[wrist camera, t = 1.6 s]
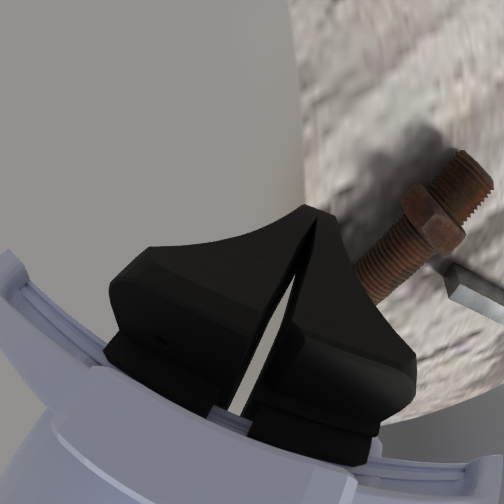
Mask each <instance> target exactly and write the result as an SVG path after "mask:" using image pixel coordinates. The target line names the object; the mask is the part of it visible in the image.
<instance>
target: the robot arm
mask: <svg viewBox="0 0 504 504" xmlns="http://www.w3.org/2000/svg"><path fill="white" fill-rule="evenodd" d="M295 273H296V274H295ZM294 275H295V278H294V282H293V285H292V289H291V292H290V296H289V299H288V303H287V306H286V310H285V313H284V317H283V320H282V323H281V326H280V328H279V331H278V333H277V336H276V338H275V340H274V343H273V345H272V347H271V350H270V352H269V354H268V357H267V359H266V361H265V363H264V366H263V368H262V370H261V372H260V374H259V377H258V379H257V381H256V383H255V385H254V388H253V390H252V392H251V394H250V396H249V398H248V400H247V402H246V404H245V406H244V408H243V411H242V413H241V415H240V416H238V415H235V414H233V413H231V412H228V411H227V410H228V408H229V406H230V404H231V402H232V400H233V398H234V396H235V394H236V392H237V390H238V387H239V386H240V383H241V381H242V379H243V377H244V375H245V373H246V371H247V368H248V366H249V364H250V362H251V360H252V358H253V356H254V353H255V351H256V349H257V347H258V345H259V343H260V340H261V338H262V336H263V334H264V332H265V329H266V327H267V325H268V323H269V321H270V319H271V317H272V315H273V313H274V311H275V310H276V308H277V306H278V304H279V303H280V301H281V298H282V297H283V295H284V294H285V292H286V289H287V288H288V286H289V284H290V283H291V281H292V279H293V277H294ZM109 297H110V303H111V306H112V309H113V312H114V315H115V318H116V321H117V324H118V327H119V331H118V333H117V334H116V335H115V336H114V337H113V338H112V340H111V341H110V342H109V343H108V344H107V343H106V342H104V341H103V340H102V339H100V338H99V337H97V336H96V335H95V334H93V333H92V332H91V331H89V330H88V329H87V328H85V327H84V326H83V325H82V324H80V323H79V322H78V321H76V320H75V319H74V318H73V317H71V316H70V315H69V314H68V313H67V312H65V311H64V310H63V309H62V308H60V307H59V306H58V305H57V304H56V303H55V302H54V301H52V300H51V299H50V298H49V297H48V296H47V295H46V294H44V293H43V292H42V291H41V290H40V289H39V288H38V287H37V286H36V285H35V284H34V283H33V282H32V281H31V280H30V279H29V275H28V273H27V271H26V269H25V267H24V265H23V263H22V262H21V261H20V259H19V258H18V257H16V255H15V254H13V252H11V250H9V249H7V250H6V251H5V252H4V253H2V254H1V255H0V348H1V350H2V351H3V353H4V354H5V356H6V357H7V359H8V360H9V361H10V362H11V364H12V366H13V367H14V368H15V370H16V371H17V372H18V374H19V375H20V376H21V378H22V379H23V380H24V381H25V383H26V384H27V385H28V386H29V387H30V389H31V390H32V391H33V392H34V393H35V395H36V396H37V397H38V398H39V399H40V400H41V402H43V404H44V405H45V406H46V407H47V409H46V410H45V412H44V413H43V414H42V416H41V417H40V418H39V420H38V421H37V422H36V424H35V425H34V427H33V428H32V430H31V431H30V432H29V434H28V435H27V437H26V438H25V439H24V441H23V442H22V444H21V445H20V447H19V448H18V450H17V451H16V453H15V454H14V456H13V457H12V459H11V460H10V462H9V463H8V465H7V466H6V468H5V470H4V471H3V473H2V474H1V476H0V504H498V499H499V493H500V485H501V476H502V464H503V456H502V455H488V456H483V457H479V458H477V459H474V460H472V461H470V462H468V463H467V464H448V463H426V462H414V461H405V460H397V459H389V458H383V457H381V454H382V443H381V442H380V441H379V439H378V438H377V437H376V436H377V435H378V434H379V429H380V423H381V422H382V421H384V420H386V419H387V418H389V417H391V416H393V415H394V414H396V413H398V412H399V411H401V410H402V409H403V408H405V407H406V406H407V405H408V404H410V403H411V402H412V400H413V398H414V397H415V395H416V381H417V362H416V354H415V353H414V351H413V350H412V349H411V348H410V347H409V346H408V345H407V344H406V343H405V341H404V340H403V339H402V338H401V337H400V336H399V335H398V334H397V333H396V332H395V330H394V329H393V328H392V327H391V325H390V324H389V323H388V322H387V320H386V319H385V318H384V317H383V315H382V314H381V313H380V311H379V310H378V309H377V307H376V306H375V304H374V303H373V301H372V300H371V298H370V297H369V295H368V294H367V292H366V290H365V289H364V287H363V286H362V284H361V282H360V280H359V278H358V276H357V274H356V273H355V271H354V269H353V267H352V265H351V262H350V260H349V257H348V255H347V252H346V250H345V247H344V244H343V241H342V238H341V234H340V231H339V227H338V223H337V219H336V217H335V216H334V215H331V214H329V213H326V212H324V211H321V210H319V209H316V208H313V207H311V206H308V205H305V204H304V205H301V206H300V207H298V208H297V209H296V210H294V211H293V212H291V213H289V214H288V215H286V216H284V217H282V218H281V219H279V220H277V221H275V222H274V223H271V224H269V225H267V226H265V227H263V228H260V229H258V230H255V231H253V232H250V233H247V234H244V235H241V236H237V237H232V238H228V239H224V240H220V241H215V242H209V243H202V244H193V245H183V246H160V247H148V248H147V249H145V251H143V252H142V253H141V254H139V255H138V256H137V257H136V258H135V259H134V260H133V261H132V262H131V263H130V264H129V265H128V266H127V267H126V268H124V270H122V271H121V272H120V273H119V274H118V275H117V276H116V277H115V278H114V279H113V280H112V281H111V282H110V286H109Z"/></svg>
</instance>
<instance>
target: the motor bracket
mask: <svg viewBox="0 0 504 504" xmlns="http://www.w3.org/2000/svg"><path fill="white" fill-rule="evenodd" d="M443 278H444V282H445V286H446V290H447V294H448V298H449V299H450V300H452V301H455V302H457V303H459V304H461V305H463V306H465V307H467V308H470V309H472V310H474V311H476V312H478V313H480V314H482V315H484V316H486V317H488V318H490V319H492V320H495V321H497V322H499V323H501V324H503V325H504V291H503V290H502V289H500V288H498V287H496V286H495V285H493V284H491V283H490V282H488V281H486V280H484V279H482V278H481V277H479V276H477V275H475V274H473V273H472V272H470V271H468V270H466V269H464V268H462V267H460V266H458V265H457V264H455V263H453V264H452V265H451V267H450V268H449V270H448V271H447V273H446V274H445V275H444V277H443Z"/></svg>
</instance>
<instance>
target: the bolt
mask: <svg viewBox="0 0 504 504" xmlns="http://www.w3.org/2000/svg"><path fill="white" fill-rule="evenodd" d="M443 171H444V172H440V176H437V180H434V184H431V183H430V187H431V188H428V187H426V186H425V185H424V184H422V183H420V182H419V183H416V184H414V185H412V186H411V187H410V188H409V190H408V191H407V192H406V193H405V194H404V195H403V197H402V198H401V208H402V210H403V212H404V213H405V214H403V218H399V221H400V222H398V221H397V222H396V225H393V226H392V228H393V229H389V232H386V233H385V235H384V236H382V239H379V241H378V242H377V243H376V244H375V245H374V246H373V247H372V249H370V250H369V251H368V252H367V253H366V254H365V255H364V256H363V257H362V258H361V259H360V260H359V261H358V262H356V264H355V265H354V266H352V267H353V269H354V271H355V273H356V274H357V276H358V278H359V280H360V282H361V284H362V286H363V287H364V289H365V290H366V292H367V294H368V295H369V297H370V298H371V300H372V301H373V303H374V304H375V306H376V305H377V304H378V303H380V302H381V301H382V300H384V299H385V298H386V297H387V296H388V295H389V294H391V293H392V291H394V290H395V289H396V288H397V287H398V286H399V285H401V284H402V283H403V282H405V281H406V279H408V278H409V277H410V276H412V275H413V273H415V272H416V271H417V269H420V267H421V266H423V265H424V263H426V262H427V261H428V259H430V258H431V255H435V252H438V253H440V254H441V255H443V256H448V255H449V254H450V253H451V252H452V251H453V250H454V249H455V248H456V247H457V246H458V245H459V244H460V243H461V242H462V241H463V240H464V238H465V236H466V233H465V231H464V229H463V228H462V226H461V225H464V224H463V221H467V217H470V213H474V209H477V205H479V206H481V202H480V201H482V202H484V198H488V196H487V194H491V192H490V190H494V186H493V180H492V178H491V177H490V176H489V175H488V173H487V172H486V171H485V170H484V169H483V168H482V167H481V166H480V165H479V164H478V163H477V162H476V161H475V160H474V159H473V158H472V157H471V156H470V155H469V154H467V153H466V152H465V150H460V152H456V156H453V160H450V164H447V168H443ZM477 210H478V209H477ZM470 218H471V217H470Z"/></svg>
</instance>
